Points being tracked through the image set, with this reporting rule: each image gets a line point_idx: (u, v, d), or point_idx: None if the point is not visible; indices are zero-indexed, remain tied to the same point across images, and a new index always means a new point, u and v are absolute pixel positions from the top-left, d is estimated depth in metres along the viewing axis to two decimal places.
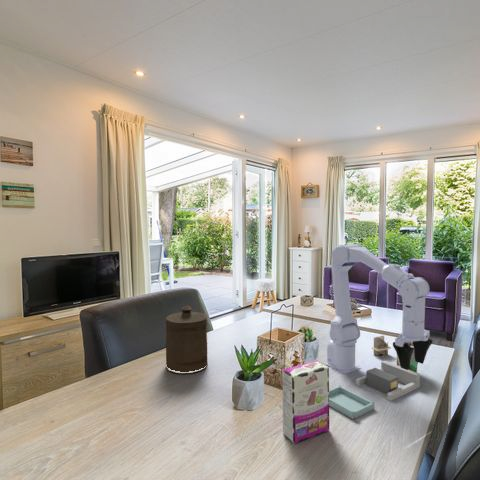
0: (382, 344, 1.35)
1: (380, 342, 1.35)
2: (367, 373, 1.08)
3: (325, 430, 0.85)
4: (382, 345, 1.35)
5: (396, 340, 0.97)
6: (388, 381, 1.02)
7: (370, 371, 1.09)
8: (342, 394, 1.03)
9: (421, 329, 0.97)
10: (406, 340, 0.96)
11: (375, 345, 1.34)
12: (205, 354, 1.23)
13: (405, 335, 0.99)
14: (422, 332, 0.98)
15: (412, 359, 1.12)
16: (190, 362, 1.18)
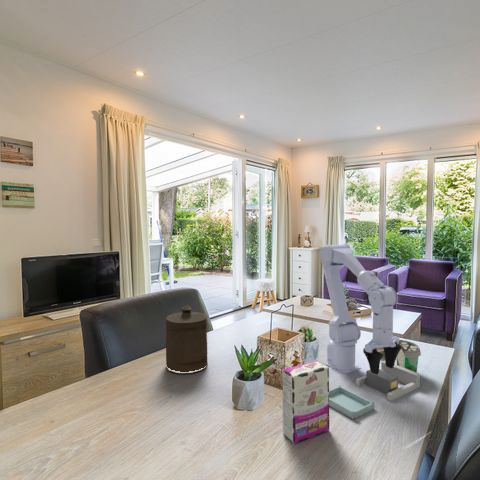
0: None
1: None
2: (367, 373, 1.08)
3: (325, 430, 0.85)
4: None
5: (366, 346, 1.03)
6: (388, 381, 1.02)
7: (370, 371, 1.09)
8: (342, 394, 1.03)
9: (389, 336, 1.03)
10: (375, 346, 1.02)
11: None
12: (205, 354, 1.23)
13: (375, 341, 1.05)
14: (390, 339, 1.04)
15: (412, 359, 1.12)
16: (190, 362, 1.18)
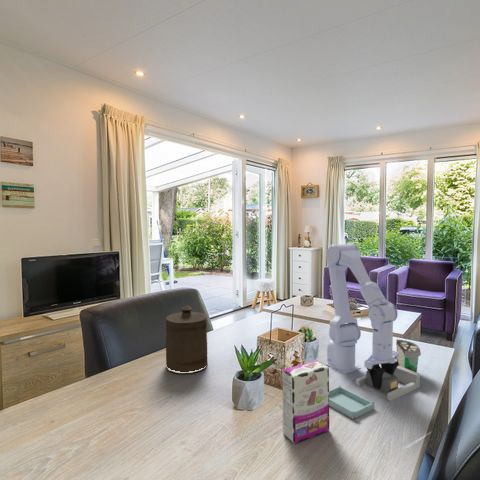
0: None
1: None
2: (367, 373, 1.08)
3: (325, 430, 0.85)
4: None
5: (365, 362, 1.03)
6: (388, 381, 1.02)
7: None
8: (342, 394, 1.03)
9: (389, 352, 1.04)
10: (374, 362, 1.02)
11: None
12: (205, 354, 1.23)
13: (374, 357, 1.05)
14: (390, 355, 1.04)
15: (412, 359, 1.12)
16: (190, 362, 1.18)
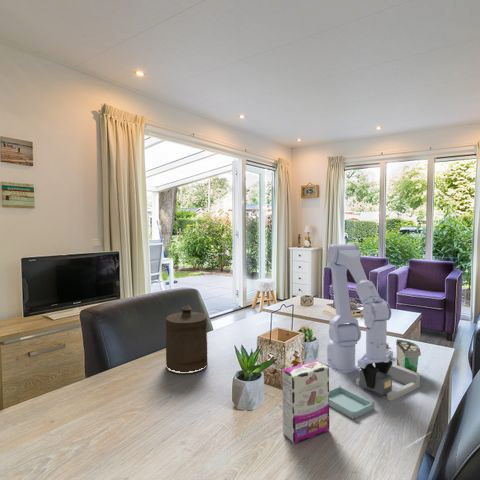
0: None
1: None
2: (361, 372, 1.07)
3: (325, 430, 0.85)
4: None
5: (359, 361, 1.01)
6: (382, 380, 1.01)
7: None
8: (342, 394, 1.03)
9: (383, 351, 1.02)
10: (368, 362, 1.01)
11: None
12: (205, 354, 1.23)
13: (368, 356, 1.04)
14: (384, 354, 1.02)
15: (412, 359, 1.12)
16: (190, 362, 1.18)
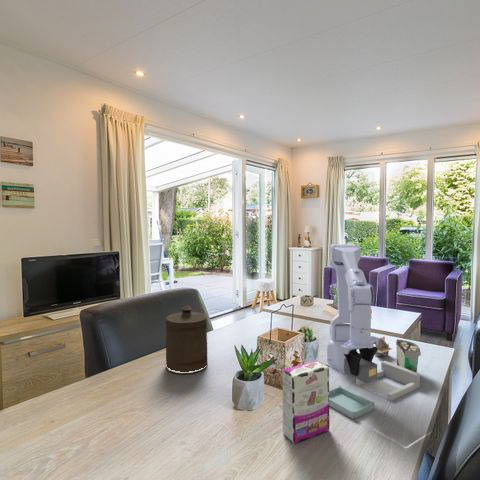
0: (383, 345, 1.34)
1: (381, 343, 1.34)
2: (345, 360, 1.02)
3: (325, 430, 0.85)
4: (383, 346, 1.34)
5: (342, 347, 0.97)
6: (366, 368, 0.96)
7: None
8: (342, 394, 1.03)
9: (367, 336, 0.97)
10: (351, 347, 0.96)
11: (377, 347, 1.32)
12: (205, 354, 1.23)
13: (352, 342, 0.99)
14: (368, 339, 0.98)
15: (412, 359, 1.12)
16: (190, 362, 1.18)
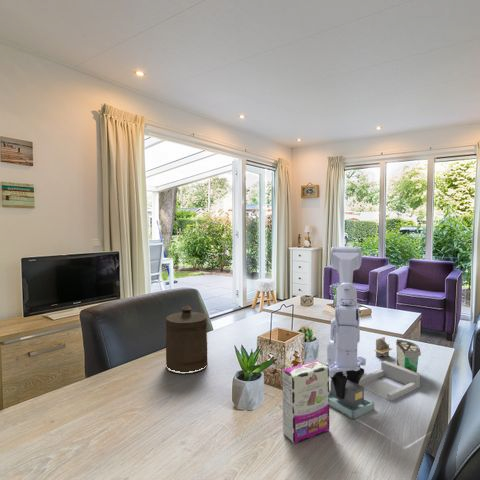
0: (383, 346, 1.34)
1: (381, 344, 1.33)
2: (331, 382, 0.99)
3: (325, 430, 0.85)
4: (383, 347, 1.34)
5: None
6: (352, 392, 0.93)
7: None
8: None
9: (353, 358, 0.95)
10: (336, 370, 0.93)
11: (377, 347, 1.32)
12: (205, 354, 1.23)
13: (338, 364, 0.96)
14: (354, 361, 0.95)
15: (412, 359, 1.12)
16: (190, 362, 1.18)
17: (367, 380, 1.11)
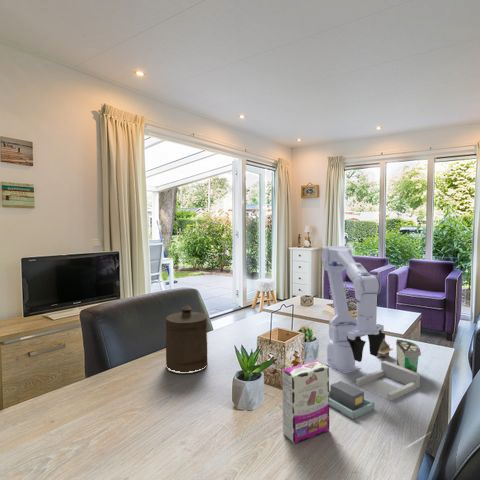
0: (383, 346, 1.34)
1: (382, 344, 1.33)
2: (331, 387, 0.99)
3: (325, 430, 0.85)
4: (383, 347, 1.34)
5: (349, 333, 1.03)
6: (352, 397, 0.93)
7: (334, 385, 0.99)
8: None
9: (373, 323, 1.03)
10: (358, 334, 1.02)
11: None
12: (205, 354, 1.23)
13: (358, 329, 1.05)
14: (374, 326, 1.04)
15: (412, 359, 1.12)
16: (190, 362, 1.18)
17: (367, 380, 1.11)
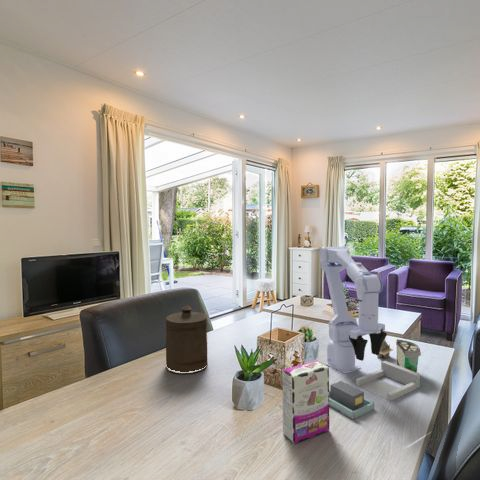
0: (384, 346, 1.33)
1: (382, 345, 1.32)
2: (331, 387, 0.99)
3: (325, 430, 0.85)
4: (384, 347, 1.33)
5: (351, 332, 1.03)
6: (352, 397, 0.93)
7: (334, 385, 0.99)
8: None
9: (374, 322, 1.04)
10: (360, 332, 1.03)
11: None
12: (205, 354, 1.23)
13: (360, 328, 1.06)
14: (375, 325, 1.04)
15: (412, 359, 1.12)
16: (190, 362, 1.18)
17: (367, 380, 1.11)
